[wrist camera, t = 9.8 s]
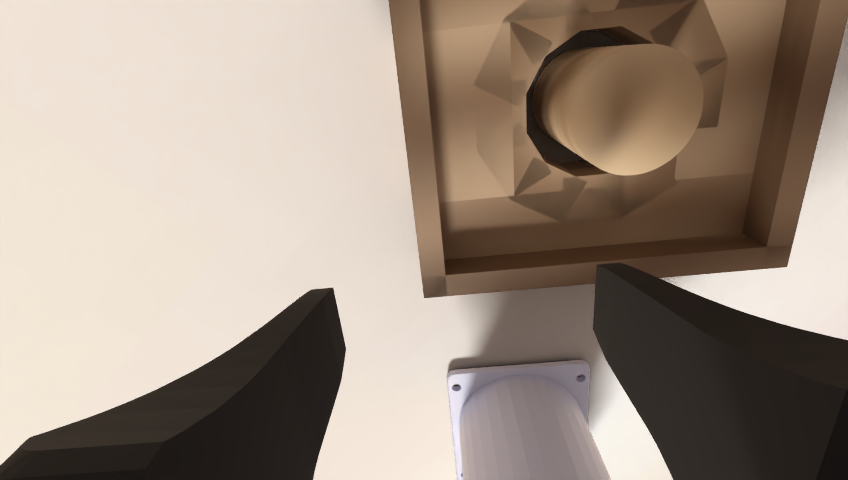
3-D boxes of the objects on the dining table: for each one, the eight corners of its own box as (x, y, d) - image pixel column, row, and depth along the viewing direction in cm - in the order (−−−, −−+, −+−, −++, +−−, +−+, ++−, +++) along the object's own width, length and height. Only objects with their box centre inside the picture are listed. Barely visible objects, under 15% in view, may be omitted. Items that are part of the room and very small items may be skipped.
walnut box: (725, 231, 22) (787, 266, 18) (424, 258, 22) (424, 297, 19) (786, -117, 16) (892, -169, 12) (387, -66, 17) (376, -101, 13)
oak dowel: (619, 139, 20) (693, 170, 14) (531, 146, 20) (571, 180, 15) (627, 43, 18) (713, 37, 13) (532, 53, 19) (576, 50, 13)
